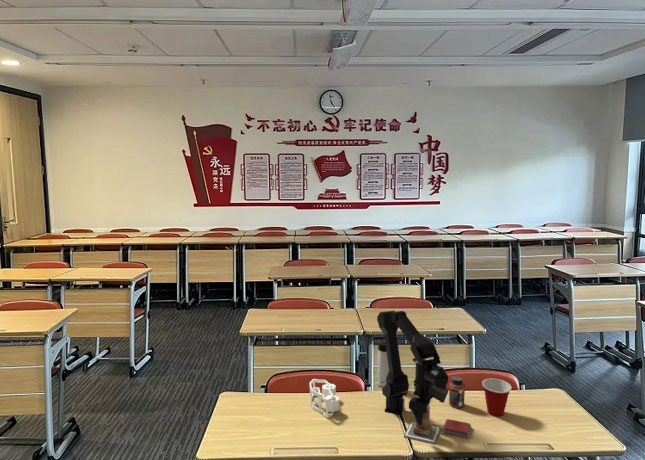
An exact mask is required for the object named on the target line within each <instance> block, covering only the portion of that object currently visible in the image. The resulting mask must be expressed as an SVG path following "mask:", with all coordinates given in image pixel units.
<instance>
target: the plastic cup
mask: <svg viewBox="0 0 645 460" xmlns="http://www.w3.org/2000/svg"><path fill="white" fill-rule="evenodd" d="M481 384H482V388H483V392H484V398H485V402H486V404H485V405H486V409H487V413H488V415H489V416H492V417H497V418H499V417H502V416H504V414H505V409H506V407H507V402H508V398H509V395H510V391H511V390H512V389H513V387H512V386H511V384H510V383H509V382H507V381H505V380H502V379H498V378H492V377H490V378H485V379H484V380H482V382H481Z"/></svg>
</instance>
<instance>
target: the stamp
mask: <svg viewBox="0 0 645 460" xmlns="http://www.w3.org/2000/svg"><path fill="white" fill-rule="evenodd" d="M430 407H431V406H430V405H429V407H428V408H429V409H428V411H427V412H426V413H424V416H423V421H422V425H418V423H417V421H416V420H415V422H416V423H415V425H414V427H413V433H414V434H418V435H423V436H427V437H429V434H430V432H431V430H432V426H433V423H432V422H431V421H430V419H431V418H430V417H431V416H430V415H431V412H430V411H431V410H430V409H431V408H430Z"/></svg>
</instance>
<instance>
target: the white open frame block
mask: <svg viewBox="0 0 645 460" xmlns="http://www.w3.org/2000/svg"><path fill="white" fill-rule="evenodd" d="M316 383H317V384H318V383H321V384H322V386H321V389H320V387H317V386H316ZM336 391H337V389H336V385H335V383H330V382H328V381H327V380H326V379H318V378H317V379H316V378H313V379H311V381H309V404H310V407H311V408H312V409H313V410H315V411H317V412H318V413H321V414H322V415H323V417H324V418H326V419H330V418H331V417H333V416H334V412H338V411H339V410H340V396H338V395H337V394H336ZM313 396H314V397H317V396H318V397H317V401H316V402H315V401H313V399H314V397H313ZM322 400H323V402H324V408H325V410H326V411H325V410H324V409H322ZM315 405H316V406H315ZM317 406H318V407H317ZM325 412H326V413H325ZM329 412H331V413H329Z"/></svg>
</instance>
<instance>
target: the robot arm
mask: <svg viewBox="0 0 645 460" xmlns="http://www.w3.org/2000/svg"><path fill="white" fill-rule="evenodd" d="M376 320H377V321H376V322H377V324H378V328H379V329H380V331H381V332H382V333H383V335H384V342H385V344H386V352H387V359H388V366H389V373H388V375H387V377H386V385H385V386H384V387H383V388H381V392H382V395H383V396H384V397H385V409H384V412H386V413H390V414H396V415H401V414H402V413H403V411H405V400H406V399H405V398H404V396H408V392H409V388H410V384H409V377H408V374H405V373H404V370H402V364H401V363H402V362H401V356H400V351H399V343H398V342H399V340H398V335H397V332H398V330H400V331H401V332H402V335H404V337H405V338H406V340H407V341H408V342H409V343H410V351H411V353H412V355H413V358H412V361H413V362H414V363H415V378H414V380H413V384H414V391H413V395H415V396H413V397H412V398H410V400H409V402H408V409H409V410H410V411H411V412H412V414H413V416H414V418H415V422H416V421H417V423H418V425H422V421H423V416H424V413H426V412H427V411H428V409H429V408H428V407H429V406H430V403H431V400H432V399H435V400H437V401H439V403H442V404H444V403H445V400H446V398H447V396H448V395H449V389H448V388H447V387H448V386H447V384H449V383H448V382H449V375H448V373H447V372H446V371H444V367H443V366H440V364H442V362H441V360H440V359H441V358H440V355H439V353H438V351H437V348H436V346H435V344H434V343H433V342H432V341H431V340H430V338H428V337H427V336H424V335H422V334H421V333H420V332H419V330H418V329H417V328H416V326H415V325H414V324H413V323H412V321H411V320H410V319H409V317H408V316H407V312H406V311H404V310H398V311H396V310H395V309H393V310H386V311H379V313H378V315H377V316H376ZM416 396H417V397H416Z"/></svg>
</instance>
